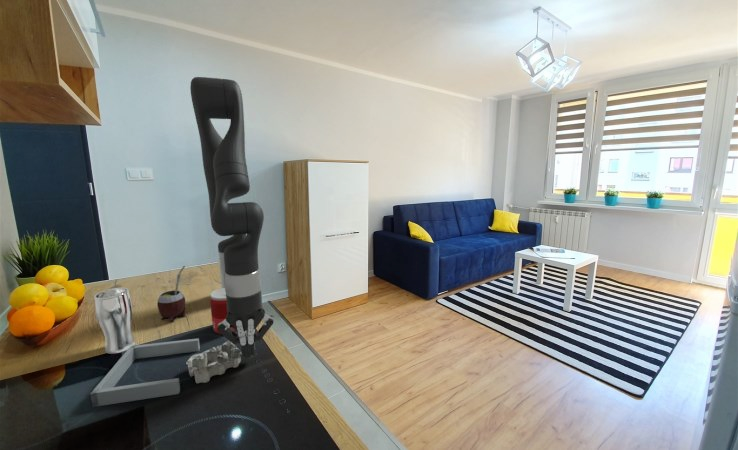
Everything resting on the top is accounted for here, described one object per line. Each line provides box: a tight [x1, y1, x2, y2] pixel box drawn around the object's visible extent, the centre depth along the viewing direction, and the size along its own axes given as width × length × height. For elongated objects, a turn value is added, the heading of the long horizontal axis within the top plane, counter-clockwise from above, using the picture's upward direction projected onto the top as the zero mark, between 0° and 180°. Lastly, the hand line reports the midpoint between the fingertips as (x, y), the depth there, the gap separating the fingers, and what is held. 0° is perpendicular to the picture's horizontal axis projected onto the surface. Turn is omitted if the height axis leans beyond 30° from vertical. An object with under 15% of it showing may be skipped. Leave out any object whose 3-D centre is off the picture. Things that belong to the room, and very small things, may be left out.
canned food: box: [209, 287, 237, 335], centre depth 88 cm, size 8×8×11 cm
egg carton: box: [185, 339, 243, 384], centre depth 71 cm, size 11×8×4 cm
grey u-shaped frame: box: [90, 337, 201, 408], centre depth 69 cm, size 16×15×3 cm
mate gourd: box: [157, 265, 186, 324], centre depth 93 cm, size 8×8×15 cm
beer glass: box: [93, 287, 136, 355], centre depth 77 cm, size 7×7×15 cm
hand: (248, 356), depth 73 cm, fingers closed
